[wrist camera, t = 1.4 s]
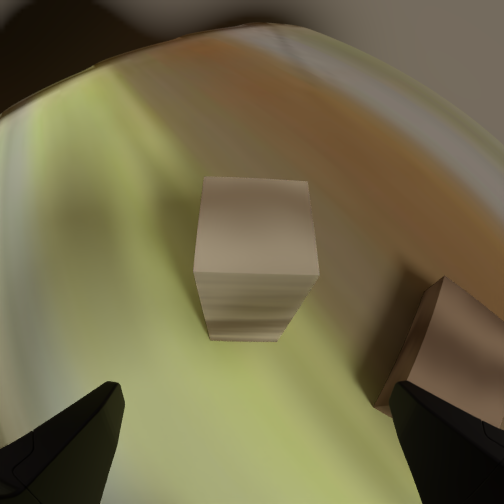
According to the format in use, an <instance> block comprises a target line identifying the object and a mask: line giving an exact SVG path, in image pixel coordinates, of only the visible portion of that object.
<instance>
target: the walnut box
mask: <svg viewBox="0 0 504 504" xmlns="http://www.w3.org/2000/svg"><path fill="white" fill-rule="evenodd" d="M404 380H408V381H410V382H412V383H413V384H415V385H417V386H419V387H421V388H422V389H424V390H426V391H428V392H430V393H432V394H433V395H435V396H437V397H439V398H441V399H443V400H445V401H447V402H448V403H450V404H452V405H454V406H456V407H458V408H460V409H462V410H464V411H465V412H467V413H469V414H471V415H473V416H475V417H477V418H479V419H481V421H485V422H487V423H489V424H491V425H493V426H495V427H497V428H500V425H501V422H502V419H503V416H504V321H502V320H501V319H500V318H499V317H498V316H496V315H495V314H494V313H493V312H492V311H490V310H489V309H488V308H487V307H485V306H484V305H483V304H482V303H480V302H479V301H478V300H477V299H475V298H474V297H473V296H471V295H470V294H469V293H467V292H466V291H465V290H464V289H462V288H461V287H460V286H458V285H457V284H456V283H454V282H453V281H452V280H450V279H449V278H448V277H446V276H443V277H442V278H441V279H440V280H438V281H437V282H436V283H435V284H433V285H432V286H431V287H430V288H428V289H427V290H426V291H425V292H424V294H423V296H422V299H421V302H420V305H419V307H418V310H417V313H416V315H415V318H414V321H413V323H412V326H411V328H410V331H409V333H408V335H407V338H406V340H405V342H404V345H403V347H402V349H401V352H400V354H399V356H398V358H397V360H396V363H395V365H394V367H393V369H392V371H391V373H390V375H389V377H388V379H387V381H386V383H385V385H384V387H383V389H382V391H381V393H380V395H379V397H378V399H377V401H376V403H375V404H374V406H373V407H374V408H375V409H377V410H379V411H381V412H382V413H384V414H386V415H388V416H389V417H391V418H392V415H391V411H390V408H389V398H390V395H391V393H392V390H393V388H394V385H395V383H396V382H398V381H404Z"/></svg>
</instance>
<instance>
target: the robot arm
mask: <svg viewBox="0 0 504 504" xmlns="http://www.w3.org/2000/svg"><path fill="white" fill-rule="evenodd" d="M124 408H125V401H124V397H123V393H122V390H121V386H120V384H119V383H117V382H111V381H107V382H105V383H103V384H102V385H100V386H99V387H97V388H96V389H95V390H93V391H92V392H90V393H89V394H87V395H86V396H84V397H83V398H81V399H80V400H78V401H77V402H75V403H74V404H72V405H71V406H69V407H68V408H66V409H64V410H63V411H61V412H60V413H58V414H57V415H55V416H54V417H52V418H51V419H49V420H48V421H46V422H45V423H43V424H42V425H40V426H38V427H37V428H35V429H34V430H33V431H31V432H29V433H27V434H26V435H24V436H23V437H21V438H19V439H18V440H16V441H14V442H13V443H11V444H9V445H7V446H5V447H3V448H1V449H0V504H100V502H101V498H102V495H103V491H104V488H105V484H106V481H107V477H108V474H109V471H110V467H111V464H112V461H113V458H114V454H115V451H116V448H117V444H118V439H119V434H120V428H121V423H122V418H123V413H124ZM389 408H390V411H391V415H392V418H393V422H394V425H395V429H396V433H397V436H398V439H399V442H400V445H401V447H402V450H403V453H404V455H405V458H406V460H407V463H408V465H409V468H410V471H411V473H412V476H413V479H414V481H415V484H416V487H417V490H418V492H419V495H420V498H421V501H422V504H504V430H501V429H499V428H497V427H495V426H493V425H491V424H489V423H487V422H485V421H481V419H479V418H477V417H475V416H473V415H471V414H469V413H467V412H465V411H464V410H462V409H460V408H458V407H456V406H454V405H452V404H450V403H448V402H447V401H445V400H443V399H441V398H439V397H437V396H435V395H433V394H432V393H430V392H428V391H426V390H424V389H422V388H421V387H419V386H417V385H415V384H413V383H412V382H410V381H408V380H404V381H398V382H396V383H395V385H394V388H393V390H392V393H391V395H390V398H389Z"/></svg>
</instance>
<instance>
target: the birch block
mask: <svg viewBox="0 0 504 504" xmlns="http://www.w3.org/2000/svg"><path fill="white" fill-rule="evenodd" d="M193 273H194V277H195V281H196V286H197V290H198V294H199V298H200V302H201V306H202V310H203V314H204V318H205V322H206V325H207V329H208V333H209V337H210V340H211V341H242V342H277V341H278V339H279V338H280V336H281V335H282V333H283V332H284V330H285V329H286V327H287V326H288V324H289V323H290V321H291V320H292V318H293V317H294V315H295V313H296V312H297V310H298V309H299V307H300V306H301V304H302V303H303V301H304V299H305V298H306V296H307V295H308V293H309V291H310V290H311V288H312V287H313V285H314V283H315V282H316V280H317V279H318V277H319V275H320V274H319V265H318V256H317V247H316V239H315V231H314V224H313V216H312V209H311V202H310V195H309V188H308V182H306V181H292V180H277V179H259V178H237V177H204V181H203V189H202V197H201V204H200V213H199V221H198V230H197V239H196V248H195V258H194V268H193Z"/></svg>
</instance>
